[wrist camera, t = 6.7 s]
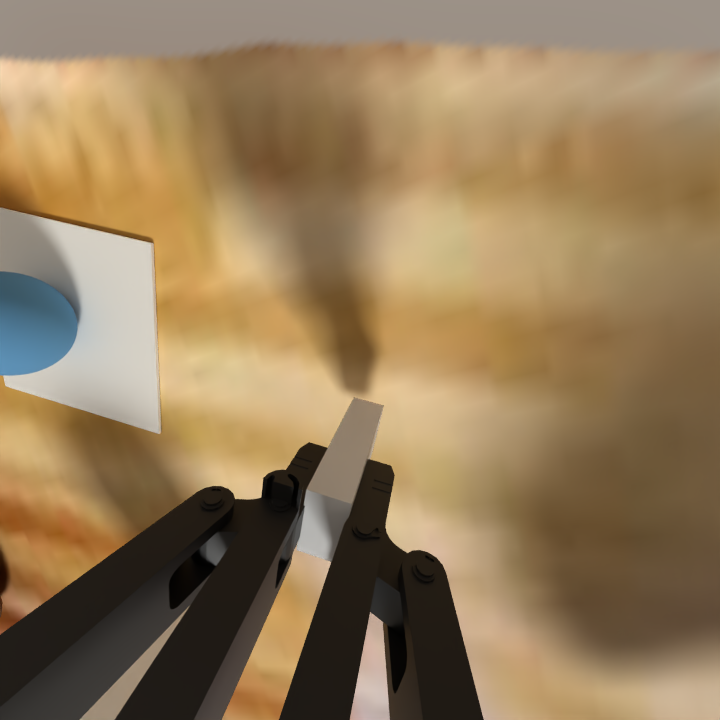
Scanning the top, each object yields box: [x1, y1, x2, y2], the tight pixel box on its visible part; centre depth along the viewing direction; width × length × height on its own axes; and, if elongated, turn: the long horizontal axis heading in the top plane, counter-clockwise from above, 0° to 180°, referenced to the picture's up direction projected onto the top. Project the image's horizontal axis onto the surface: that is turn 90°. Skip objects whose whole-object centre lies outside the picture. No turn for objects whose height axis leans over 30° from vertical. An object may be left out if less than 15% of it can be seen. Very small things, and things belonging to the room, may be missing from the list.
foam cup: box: [80, 607, 189, 720], centre depth 22 cm, size 10×9×13 cm
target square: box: [0, 207, 161, 434], centre depth 21 cm, size 12×12×1 cm
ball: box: [0, 271, 78, 376], centre depth 19 cm, size 6×6×6 cm
